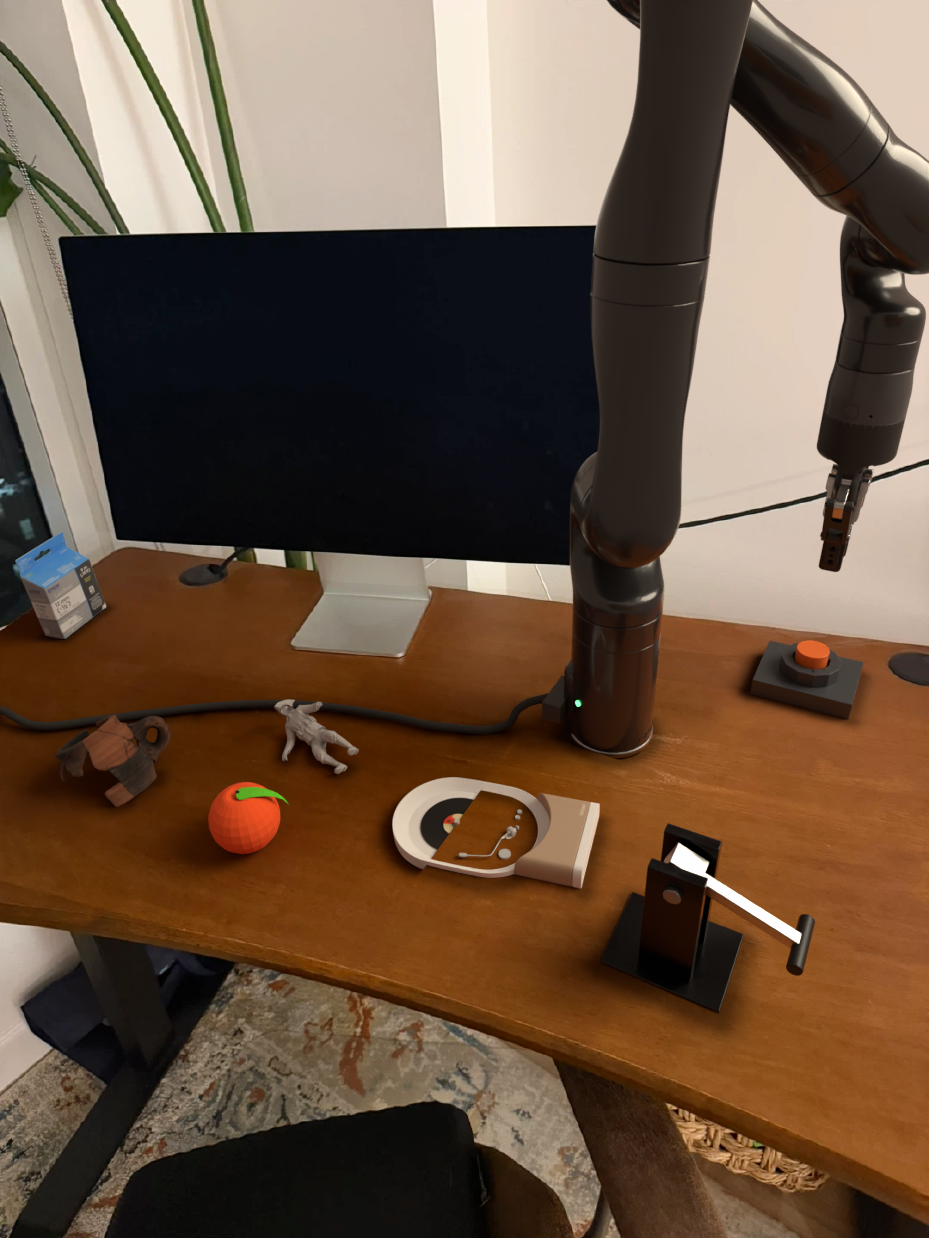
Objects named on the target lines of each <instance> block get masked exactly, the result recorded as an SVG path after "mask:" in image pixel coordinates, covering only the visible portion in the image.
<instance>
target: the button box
mask: <svg viewBox="0 0 929 1238" xmlns="http://www.w3.org/2000/svg"><path fill="white" fill-rule="evenodd" d="M799 643H800V642H795V643H792V644H788V643H783V642H779V641H774V640H769V641H768V642H767V646H766V647H765V650H764V653H763V654H762V657H761V660H760V661H759V664H758V666H757V669H756V671H755V672H754V675H753V677H752V681H751V687H750V695H754V696H756V697H760V698H764V699H768V700H771V701H776V702H779V703H783V704H786V705H787V704H788V705H792V706H795V707H799V708H803V709H807V710H810V711H813V712H814V711H815V712H818V713H822V714H825V715H828V716H829V715H830V716H833V717H837V718H841V719H844V720H849V719H850V716H851V712H852V709H853V705H854V701H855V698H856V695H857V690H858V686H859V684H860V683H859V682H860V678H861V675H862V671H863V667H864V664H865V663H864V661H860V660H856V659H853V658H848V657H844V656H839V655H838V654H837V653H836V652H835V651H834V650H832V649H831V648H829V650H830V653H829V658H828V662H827V666H826V667H825V668H823V669H809V668H805V667H802V666H801V665H799V664H797V663H796V662H795V654H796V649H797V645H798V644H799Z"/></svg>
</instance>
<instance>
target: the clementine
mask: <svg viewBox="0 0 929 1238" xmlns="http://www.w3.org/2000/svg"><path fill="white" fill-rule="evenodd" d="M277 799H280V800H282V801H283V802H285V803H286V804H287V805H289V802H288V801H287V800H286V799H285V797H284V796H282V795H280V794H279V793H278V792H276V791H274V790H271V789H268V788H267V787H265V786H263V785H261V784H259V783H256V782H252V781H251V782H250V781H242V782H236V783H233V784H231V785H228V786H227V787H226V788H224V789H223V790H222V791H221V792H219V793H218V794H217V796H216V797H215V799H214V800H213V801H212V802H211V806H210V808H209V812H208V816H207V817H208V818H207V819H208V830H209V832H210V834H211V836H212V838H213V840H214V842H215V843H216V844H218V845H219V846H220V847H221V848H222V849H223V850H225V851H227V852H230V853H233V854H239V855H248V854H252V853H257V851H260V850H262V849H263V848H265V847H266V846H267V845H268V844H269V843H270V842H271V841H272V840H273V839H274V838H275V836H276V834H277V833H278V831H279V827H280V823H281V809H280V805H279V802H278V800H277Z"/></svg>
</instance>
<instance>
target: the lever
mask: <svg viewBox="0 0 929 1238" xmlns="http://www.w3.org/2000/svg"><path fill="white" fill-rule="evenodd" d="M664 862H665V863H667V864H670V865H673V866H676V867H679V868H681V869H684V870H687V871H690V872H692V873H695V874H698V875H701V876H704V877H706V878H708V884H707V890H706V895H707V896H709V897H711V898H712V899H713V901H715V902H717V904H720V905H721V906H723V907H725V908H726V909H727V910H729V911H731V912H733V913H734V914H736V915H737V916H738V917H740V918H742V919H743V920H745V921H746V922H748V923H749V924H751V925H753V926H755V927H756V929H759V930H761V931H762V932H763V933H765V934H767V935H769V936H770V937H772V938H773V939H775V940H776V941H777V942H779V943H781V944H782V945H784V946H786V947H787V948H789V952H788V953H789V954H788V957H787V961H786V964H785V969H786V971H787V972H788V973H789V974H790V975H793V976H795V977H801V976H802V975H803V974H804V970H805V965H806V962H807V957H808V955H809V949H810V945H811V942H812V937H813V933H814V930H815V924H816V920H815V918H814V917H813V916H812V915H810V914H807V913H802V914H800V915H799V916H798V919H797V922H796V923H797V924H796V927H795V928H794V927H792V926H790V925H789V924H788V923H786V922H784V921H783V920H781V919H779V918H778V917H776V916H774V914H772V913H770V912H769V911H767V910H765V909H764V908H762V907H761V906H759V905H757V904H756V903H754V902H752V901H751V900H749V899H748V898H747V897H744V896H743V895H742V894H740V893H739V892H737V891H735V890H733V889H732V888H730V887H729V886H727V885H726V884H725V883H723V882H721V881H719V880H717V878H716V879H715V878H713V877H711V876H710V875H708V874H707V873H706V870H707V868H708V865H709V861H707V860H706V859H704V858H702V857H701V856H699V855H698V854H696V853H694V852H693V851H691V850H690V849H688V848H687V847H685V846H683V845H682V844H680V843H677V844H676V845H675V847H674V848H673V849H672V850H671V852H670V853H669V854H668V855H667V857H666V858H665V860H664Z"/></svg>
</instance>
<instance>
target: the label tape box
mask: <svg viewBox="0 0 929 1238" xmlns="http://www.w3.org/2000/svg"><path fill="white" fill-rule="evenodd" d="M47 550H49V552H48V553H46V554H45V555H43V556H42V557H39V558H38V559H36V560H35V558H36V557H38V556H39V555H40V553H41V552H46V551H47ZM15 565H16V568H17V570H18V573H19V576H20V580H21V582H22V584H23V586H24V589H25V592H26V594H27V596H28V599H29V600H30V603H31V605H32V608H33V610H34V612H35V615H36V617H37V620H38V622H39V625H40V626H41V628H42V631H43V634H44V636H45V637H51V638H55V639H61V640H63V639H64V640H66V639H67V638H69V637H71V635H72V634H74V633H75V632H76V631H78V630H79V629H80V628H81V627H83V626H85V624H86V623H88V622H89V621H90V620H92V619H93V618H94V617H95V616H97V615H98V614H100V613H101V612H102V611H103V610H105V609H106V608H107V605H106V602H105V599H104V595H103V594H102V590H101V587H100V585H99V582H98V580H97V576H96V573H95V571H94V567H93V565H92V562H91V560H90V559H89V558H88V557H86V556H85V555H82V554H81V553H80V552H78V551H76V550H73V549H72V548H70V547H69V546H67V544H66V540H65V537H64V531H60V532H59V533H57V534H55V535H54V536H53V537H50V538H49V539H48V540H45V541H43V543H41V544H39V545H37V546H36V547H34V548H33V549H31V550H30V551H27V553H25V554H23V555H22V556H20V557H17V559H15Z"/></svg>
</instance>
